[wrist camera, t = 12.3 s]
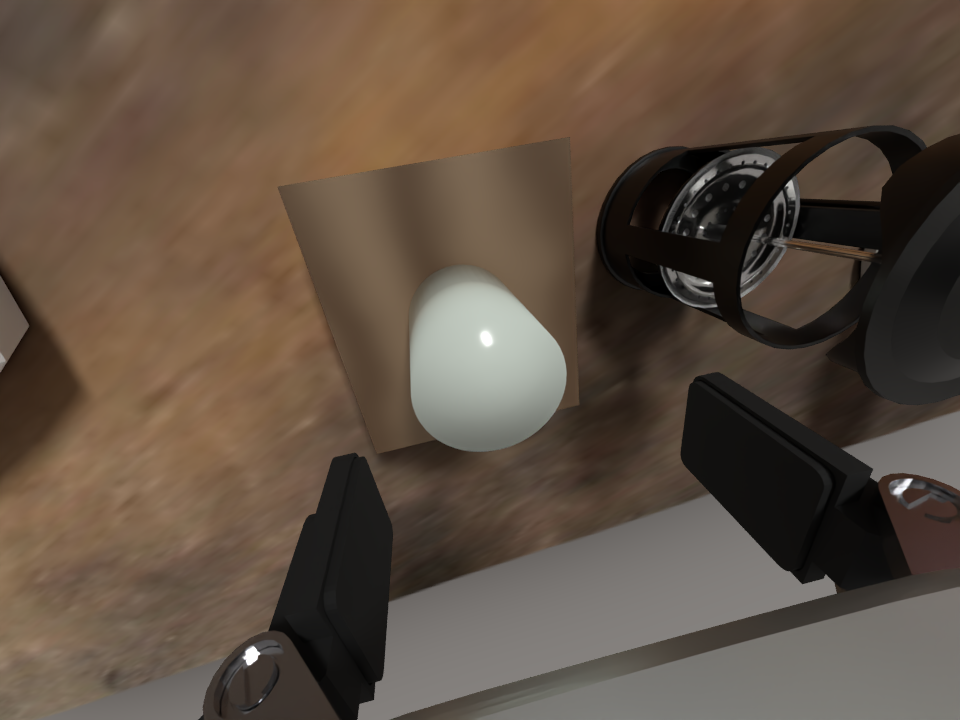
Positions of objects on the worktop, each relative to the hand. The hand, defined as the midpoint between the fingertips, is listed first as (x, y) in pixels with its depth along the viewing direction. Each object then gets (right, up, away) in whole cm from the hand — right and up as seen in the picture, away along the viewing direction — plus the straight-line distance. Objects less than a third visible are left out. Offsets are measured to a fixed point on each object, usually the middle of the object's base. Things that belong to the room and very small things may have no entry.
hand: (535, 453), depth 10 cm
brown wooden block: (-4, +7, +15) cm, 17 cm away
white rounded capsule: (-3, +5, +10) cm, 12 cm away
